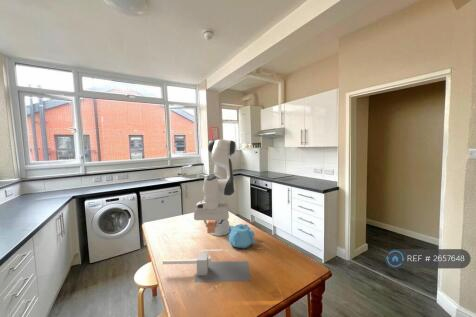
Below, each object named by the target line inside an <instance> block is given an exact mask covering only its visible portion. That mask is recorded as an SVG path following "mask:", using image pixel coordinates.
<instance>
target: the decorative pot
mask: <svg viewBox="0 0 476 317" xmlns="http://www.w3.org/2000/svg"><path fill="white" fill-rule="evenodd" d="M229 226H230V227H229V233H228V234H227V237H228V242H229V244H230V245H231V246H232V247H235V248H240V249H242V250H245V249H246V248H248V247H250V246H251V245H253V244H256V243H255V242H256V241H255V239H254V238H255V232H254V230H252V229H251V227H250V226H249V225H248V224H247V223H246V224H242V223H239V224H236V225H234V226H233V225H229Z"/></svg>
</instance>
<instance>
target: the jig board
mask: <svg viewBox="0 0 476 317" xmlns="http://www.w3.org/2000/svg"><path fill="white" fill-rule="evenodd" d="M208 255H209V252H201V253H200V252H199V253H198V255H197V258H196V259H197V264H196V274H195V277H194V281H193V282H194V283H211V282H212V283H215V282H218V283H219V282H222V283H223V282H248V281H249V282H250V281H251V272H250V267H249V266H250V265H249V261H248V260H246V261H245V260H241V261H240V260H239V261H237V260H236V261H235V260H234V261H211V263H210V264H208V263H207V259H208Z"/></svg>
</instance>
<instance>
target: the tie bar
mask: <svg viewBox="0 0 476 317" xmlns="http://www.w3.org/2000/svg"><path fill="white" fill-rule="evenodd" d="M211 260H212V256H211V255H210V254H208V259H207V263H208V264H210V263H211V262H212V261H211ZM191 264H192V265H193V264H194V265H197V258H184V259H183V258H181V259H179V258H178V259H163V260H162V265H191Z"/></svg>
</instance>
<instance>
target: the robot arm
mask: <svg viewBox="0 0 476 317" xmlns="http://www.w3.org/2000/svg"><path fill="white" fill-rule="evenodd" d="M207 149H208V151H209V152H210V154H211V155H210V156H211V161H212V163H213V164H214V165H213V166H214V167H213V175H212V174H211V175H207V176H205V177H204V180H203V185H202V193H203V196H204V197H203V200H200V201H198V202H197V203H196V204H195V209H194V213H193V219H194V221H203V223H204V225H205V228H207V225H208V222H207V221H209V220H216V223H215V227H216V228H215V233H209V234H210V235H212V236H216V237H218V236H225V235H229V227H230V226H231V225H230V221H229V218H230V214H229V213H230V212H229V211H230V205H229V204H228V203H226V202H225V201H224V200H222V199H221V197H226V198H227V197H233V196H234V195H235V193H236V191H237V188H236V183H235V181H234V180H235V178H234V169H233V163H232V160H231V158H229V157H231V156H232V155H234V154H235V152H236V150H237V144H236V142H235V141H234V140H228V139H220V138H219V139H210V140H209V141H208V144H207Z"/></svg>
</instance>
